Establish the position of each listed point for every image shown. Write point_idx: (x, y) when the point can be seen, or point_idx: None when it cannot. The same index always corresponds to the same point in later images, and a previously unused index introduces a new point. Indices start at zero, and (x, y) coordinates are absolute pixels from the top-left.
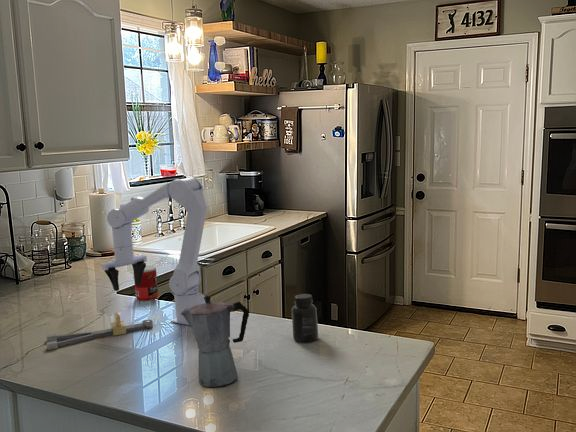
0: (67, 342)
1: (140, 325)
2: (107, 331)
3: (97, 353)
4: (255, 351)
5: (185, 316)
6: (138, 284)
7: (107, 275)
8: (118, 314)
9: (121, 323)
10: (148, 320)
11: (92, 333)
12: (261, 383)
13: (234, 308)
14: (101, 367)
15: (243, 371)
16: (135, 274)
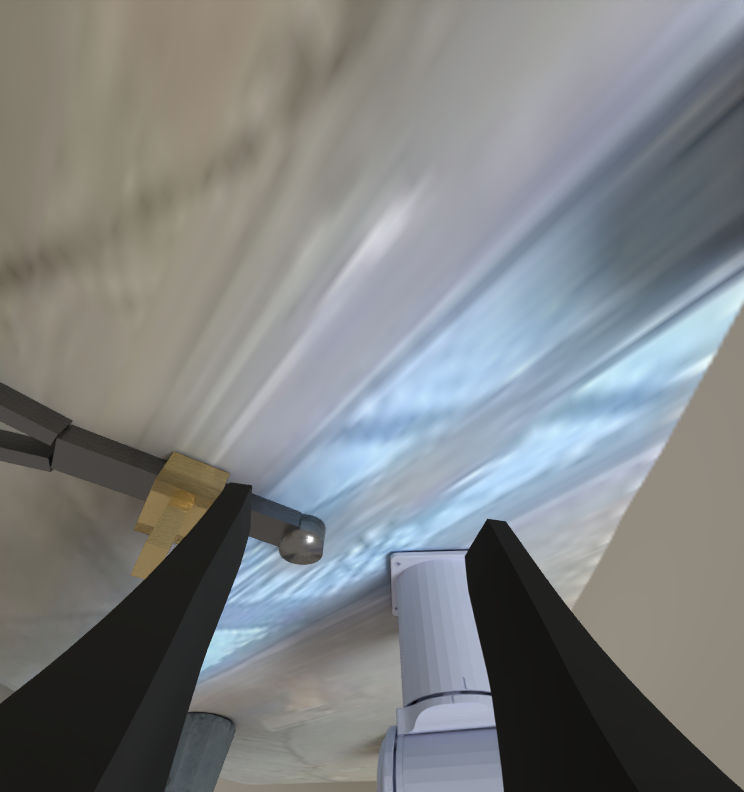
0: None
1: (270, 536)
2: (128, 489)
3: (46, 557)
4: (329, 714)
5: None
6: (469, 564)
7: (32, 679)
8: (155, 566)
9: (192, 519)
10: (308, 551)
11: (55, 458)
12: (241, 741)
13: None
14: (34, 613)
15: (253, 726)
16: (536, 649)
